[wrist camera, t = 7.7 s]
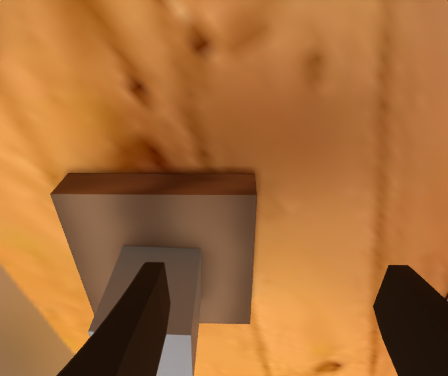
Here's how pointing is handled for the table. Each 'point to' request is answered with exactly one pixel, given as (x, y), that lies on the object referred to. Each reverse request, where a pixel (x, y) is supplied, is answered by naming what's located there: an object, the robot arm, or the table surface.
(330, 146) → the table surface
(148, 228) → the walnut slab
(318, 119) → the table surface
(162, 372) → the slate block
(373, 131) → the table surface
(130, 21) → the table surface
